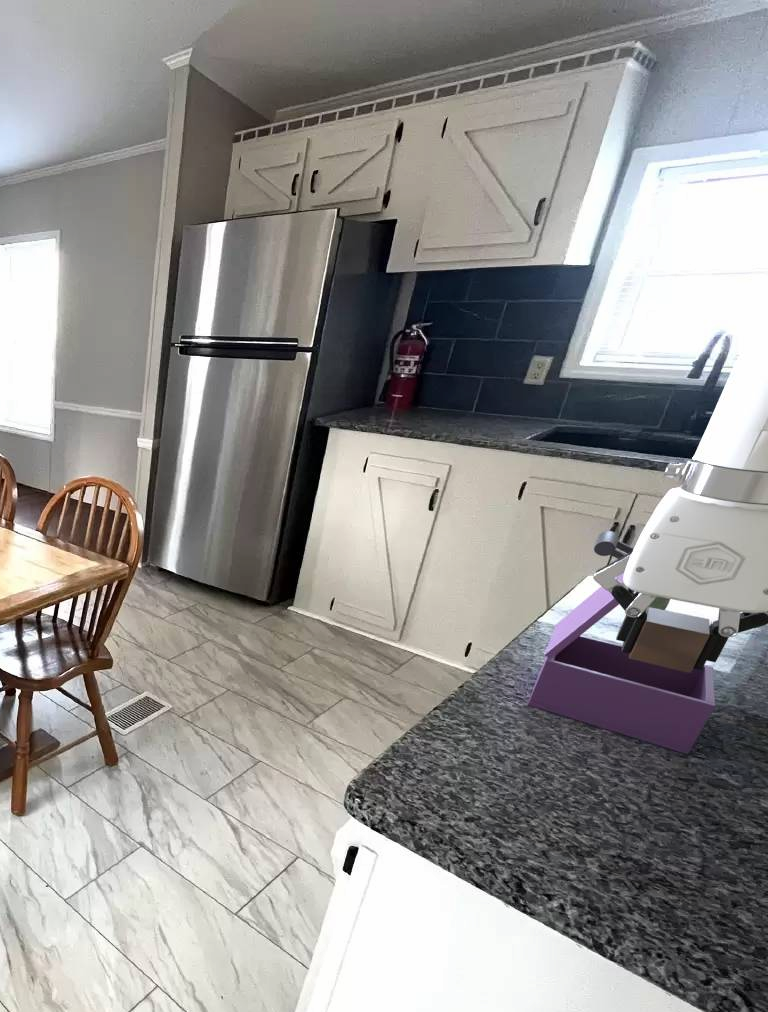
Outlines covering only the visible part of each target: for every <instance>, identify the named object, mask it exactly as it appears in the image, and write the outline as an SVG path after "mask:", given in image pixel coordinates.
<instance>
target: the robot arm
mask: <svg viewBox="0 0 768 1012" xmlns="http://www.w3.org/2000/svg"><path fill="white" fill-rule="evenodd" d="M662 478H664V479H673V481H678V484H681V485H680V487H675V488H671V489H669V490H668V492H666V494H665V495H664V496H663V498H662V499H661V500H660V501H659V503H658V505H657V506H656V507H655V509H654V511H653V513H652V515H651V516H650V518H649V519H648V521H647V522H646V524H645V526H644V528H643V529H642V531H641V533H640V535H639V537H638V539H637V541H636V543H635V545H634V547H633V548H634V549H633V551H632V552H630V553H628V554H627V553H625V554H626V555H624V556H623V557H621V558H619V559H617V558H616V559H615V560H614V561H612V562H610V563H608V564H607V565H604V566H603V567H600V568H598V569H597V570H596V571H595V572H594V573H593V578H592V579H593V580H594V581H595V582H596V583H597V584H598V585H600V587H601V586H602V587H603V588H604V589H606V590H607V591H609V592H610V593H611V594H612V596H613V597H614V598H615V600H616V601H617V602H618V603H619V606H620V607H621V608H622V609H623V610H624V613H625V616H624V619H623V621H622V623H621V625H620V627H619V630H618V632H617V634H616V637H615V640H616V641H619V642H622V645H623V646H622V651H621V652H624V653H629V652H630V653H631V651H632V649H633V647H634V645H635V643H636V640H637V638H638V636H639V634H640V632H641V630H642V627H643V625H644V623H645V619H646V609H647V608H648V606H649V605H650V604H651V603H652V602H653V601H654V600H655V599H656V598H657V597H663V598H668V599H670V600H674V601H677V602H678V601H679V602H684V603H690V604H695V605H700V606H705V607H711V608H717V609H718V615H717V616H718V617H717V619H716V620H714V621H713V622H712V623H710V636H709V638H708V640H707V642H706V644H705V646H704V648H703V650H702V652H701V654H700V655H699V657H698V659H697V661H696V663H695V665H694V667H693V669H696V670H700V671H701V670H702V669H703V667H704V665H706V663H707V662H710V663H716V662H717V661H718V659H719V657H720V656H721V653H722V651H723V650H724V648H725V645H726V644H727V642H728V640H729V639H730V638H733V637H735V636H737V635H738V634H739V633H743V632H747V631H750V630H753V629H757V628H761V627H764V626H767V625H768V339H763V340H760V341H756V342H755V343H752V344H750V345H749V346H748V347H746V348H745V349H744V350H742V352H741V353H740V354H739V356H738V357H737V359H736V361H735V363H734V365H733V367H732V369H731V371H730V374H729V376H728V378H727V381H726V383H725V385H724V388H723V390H722V392H721V394H720V396H719V398H718V401H717V403H716V406H715V408H714V410H713V413H712V415H711V417H710V419H709V421H708V424H707V427H706V429H705V430H704V433H703V435H702V437H701V440H700V441H699V444H698V446H697V449H696V451H695V453H694V455H693V457H692V458H691V460H689V461H686V463H679V464H677V463H676V464H675V463H668V464H667V466H666V468H665V470H664V473H663V475H662ZM623 573H624V576H623V580H624V583H623V582H621V580H620V579H618V576H619V575H621V574H623ZM631 589H632V590H634V591H635V592H633V591H632V590H631Z"/></svg>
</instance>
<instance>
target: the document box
mask: <svg viewBox="0 0 768 1012" xmlns="http://www.w3.org/2000/svg"><path fill="white" fill-rule="evenodd" d="M622 646H623V644H620V643H616V642H612V641H608V640H603V639H600V638H596V637H591V636H587V635H584V634H582V635H580V636H579V637H578V638H577V639H575V640H574V641H573V642H572V643H570V644H569V645H568V646H567V647H565V648H564V649H563V650H562V651H560V652H559V653H558V654H557V655H555V656H554V657H553V658H552V659H550V658H548V657H547V656H545V659H544V661H543V663H542V664H541V668H540V670H539V673H538V676H537V678H536V680H535V683H534V686H533V689H532V691H531V693H530V697H529V700H528V702H527V703H526V705H527V706H529V707H533V708H537V709H540V710H543V711H545V712H549V713H552V714H556V715H558V716H562V717H565V718H567V719H568V718H569V719H572V720H575V721H579V722H581V723H584V724H588V725H591V726H595V727H598V728H601V729H604V730H608V731H611V732H614V733H616V734H620V735H624V736H627V737H630V738H634V739H637V740H639V741H642V742H646V743H650V744H653V745H656V746H659V747H662V748H666V749H669V750H672V751H675V752H678V753H681V754H684V755H689V753H690V751H691V750H692V748H693V747H694V745H695V743H696V741H697V739H698V738H699V736H700V734H701V733H702V731H703V729H704V728H705V726H706V724H707V722H708V720H709V718H711V715H712V713H713V712H714V710H715V708H716V693H715V692H716V691H715V690H716V689H715V675H714V666H711V665H706V664H705V665H704V667H703V669H702V670H701V671H700V670H696V669H692V671H691V673H687V672H682V671H678V670H674V669H670V668H666V667H662V666H657V665H653V664H649V663H645V662H641V661H637V660H633V659H629V656H630V652H629V653H624V652H621V651H622Z"/></svg>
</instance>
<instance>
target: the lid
mask: <svg viewBox="0 0 768 1012" xmlns="http://www.w3.org/2000/svg"><path fill="white" fill-rule="evenodd" d="M633 549H634V547H633V546H632V545H629V544H627V543H625V542H623V541H621V540H619V535H618V534H617V533H616V532H614V531H611V530H605V531H603V532H600V533H599V534H598V536H597V537H596V541H595V543H594V546H593V551H594V553H595V554H596V555H598V556H600V557H608V556H611V557H614V558H615V559H616V560H617V559H619V558H621V557H623V556H624V555H626V554H628V553H630V552H632V551H633ZM623 576H624V573H623V574H621V575H619V576H618V579H620V580H621V582H623V583H624V580H623ZM631 590H632V589H631ZM632 591H633V592H634V593H635V592H636V591H634V590H632ZM618 606H620V604H619V603H618V602H617V601H616V600H615V598H614V597H613V596H612V594H611V593H610V592H609V591H607V590H606V589H604V588H603V587H602V586H601V585H600V587H598V588H597V589H596V590H595V591H594V592H593V593H592V594H591V595H589V596H588V597H587V598H585V599H584V600H583V601H582V602H581V603H579V604H578V605H577V606H576V607H575V608H574V609H572V610H571V611H570V612H569V613H568V614H567V615H565V616H564V617H562V618H561V620H559V621H558V622H557V623H556V624H555V626H554V629H553V631H552V634H551V636H550V640H549V641H548V643H547V647H546V650H545V652H544V654H543V655H544V656H545V657H546V656H547V657H548V658H550V659H552V658H553V657H554V656H555V655H557V654H558V653H559V652H560V651H562V650H563V649H564V648H565V647H567V646H568V645H569V644H570V643H572V642H573V641H574V640H575V639H577V638H578V637H579V636H580V635H584V633H585V632H586V631H588V630H589V629H590V628H591V627H593V626H594V625H595V624H596V623H598V622H599V621H600V620H602V619H603V618H604V617H605V616H606V615H608V614H609V613H610V612H611V611H613V610H614V609H616V608H617V607H618Z"/></svg>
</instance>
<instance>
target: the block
mask: <svg viewBox="0 0 768 1012" xmlns="http://www.w3.org/2000/svg"><path fill="white" fill-rule="evenodd" d="M710 625H711V623H710V618H707V617H700V616H696V615H691V614H685V613H680V612H675V611H670V610H666V609H665V610H661V609H656V608H651V607H648V608H647V610H646V619H645V623H644V625H643V627H642V630H641V632H640V634H639V636H638V638H637V640H636V643H635V645H634V647H633V649H632V651H631V653H630V656H629V659H633V660H637V661H641V662H645V663H649V664H653V665H657V666H662V667H666V668H670V669H674V670H678V671H682V672H687V673H691V671H692V669H693V667H694V665H695V663H696V661H697V659H698V657H699V655H700V654H701V652H702V650H703V648H704V646H705V644H706V642H707V640H708V638H709V636H710Z"/></svg>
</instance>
